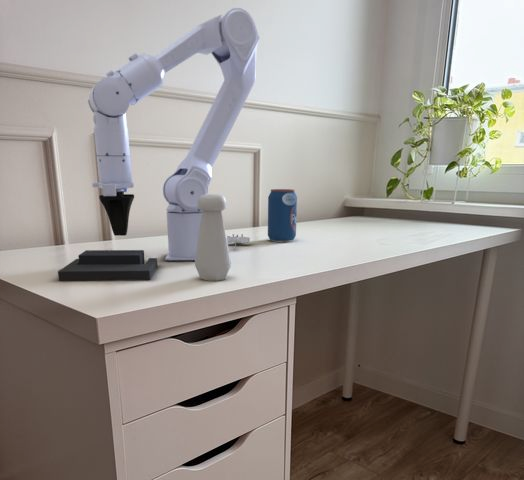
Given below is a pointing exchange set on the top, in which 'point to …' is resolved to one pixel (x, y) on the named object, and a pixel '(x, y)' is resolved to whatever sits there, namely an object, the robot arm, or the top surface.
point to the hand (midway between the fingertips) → (120, 235)
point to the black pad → (107, 271)
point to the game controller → (238, 239)
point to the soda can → (282, 215)
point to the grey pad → (111, 257)
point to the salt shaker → (212, 239)
